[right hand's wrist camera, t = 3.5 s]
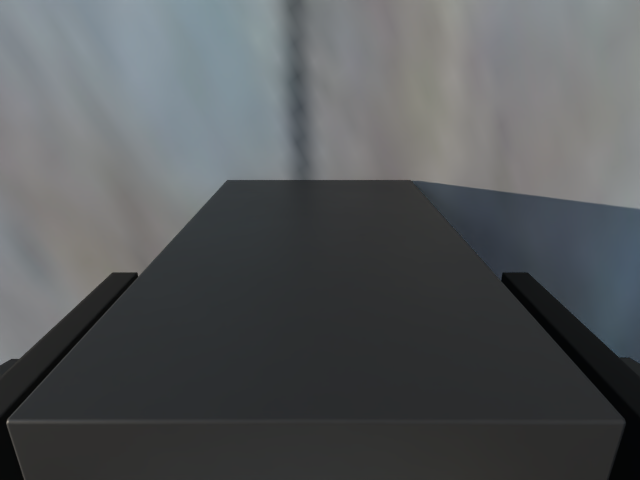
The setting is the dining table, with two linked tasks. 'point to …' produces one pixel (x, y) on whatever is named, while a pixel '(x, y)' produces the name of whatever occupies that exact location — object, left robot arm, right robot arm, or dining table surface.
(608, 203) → the dining table surface
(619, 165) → the dining table surface
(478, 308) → the box
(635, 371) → the right robot arm
